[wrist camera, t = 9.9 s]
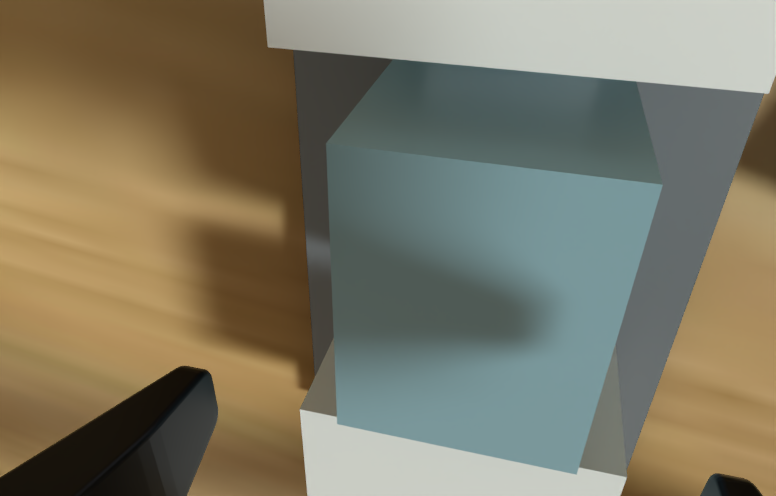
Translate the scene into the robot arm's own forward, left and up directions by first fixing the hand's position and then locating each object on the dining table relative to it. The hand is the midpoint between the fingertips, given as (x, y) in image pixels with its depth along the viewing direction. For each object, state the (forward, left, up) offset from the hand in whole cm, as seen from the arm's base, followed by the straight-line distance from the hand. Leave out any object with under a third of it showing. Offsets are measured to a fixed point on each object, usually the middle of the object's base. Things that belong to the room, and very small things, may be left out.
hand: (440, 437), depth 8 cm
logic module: (0, 0, -7) cm, 7 cm away
